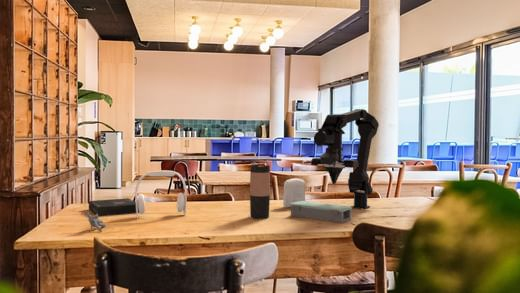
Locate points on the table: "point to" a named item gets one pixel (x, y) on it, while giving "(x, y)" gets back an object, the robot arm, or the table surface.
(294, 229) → the table surface
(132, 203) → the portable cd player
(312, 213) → the cable duct
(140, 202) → the headset
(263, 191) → the travel mug
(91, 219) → the elephant figurine
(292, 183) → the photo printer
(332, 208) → the duct cover
